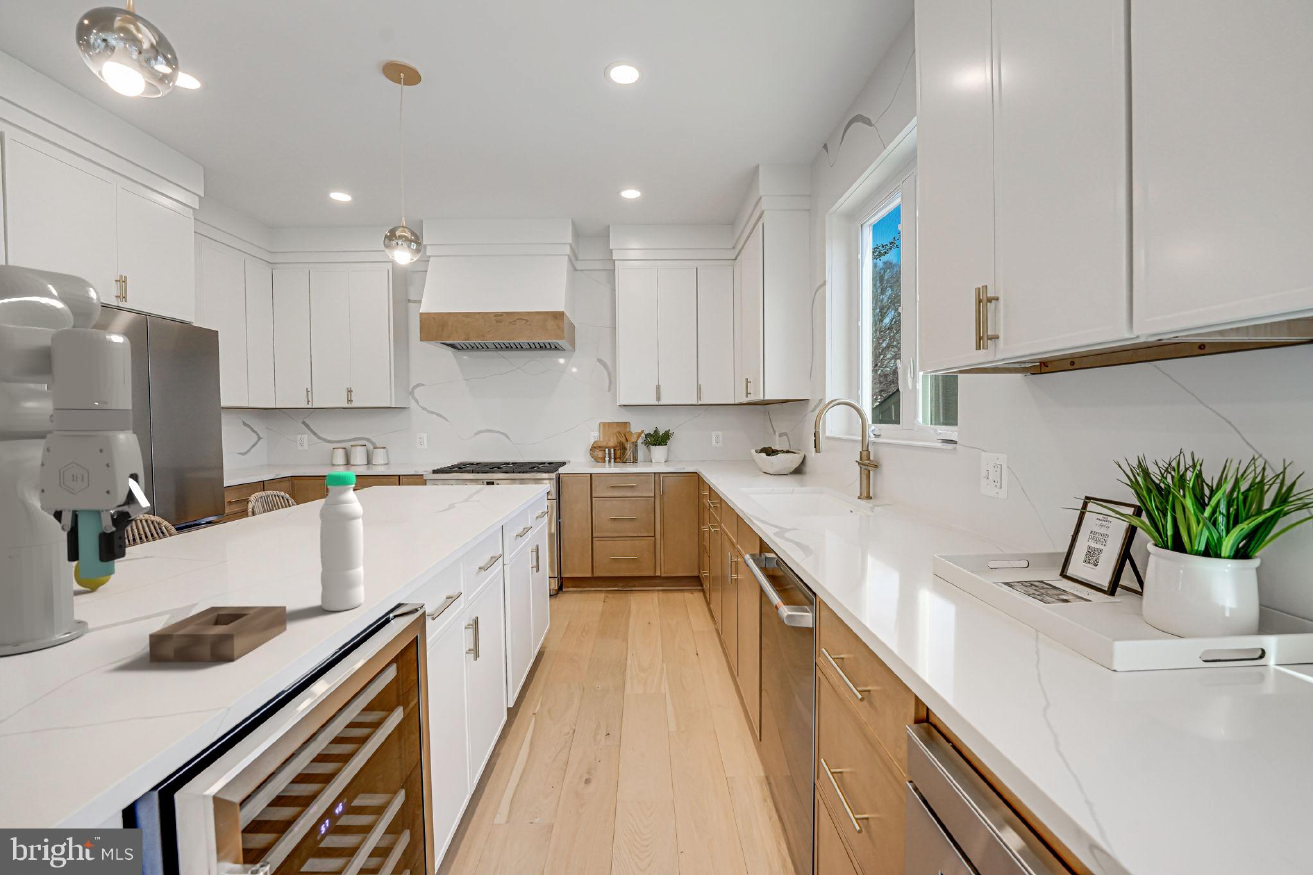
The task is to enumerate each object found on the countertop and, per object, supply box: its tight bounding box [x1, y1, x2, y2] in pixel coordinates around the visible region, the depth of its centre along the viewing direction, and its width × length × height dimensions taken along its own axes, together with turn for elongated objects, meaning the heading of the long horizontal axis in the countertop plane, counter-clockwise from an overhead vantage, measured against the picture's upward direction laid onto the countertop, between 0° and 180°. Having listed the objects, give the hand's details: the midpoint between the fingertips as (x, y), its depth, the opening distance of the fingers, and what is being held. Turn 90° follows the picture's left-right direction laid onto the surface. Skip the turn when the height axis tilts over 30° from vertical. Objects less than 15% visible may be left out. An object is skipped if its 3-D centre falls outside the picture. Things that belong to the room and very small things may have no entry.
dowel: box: [77, 510, 116, 579], centre depth 76 cm, size 3×3×11 cm
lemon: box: [73, 561, 112, 592], centre depth 115 cm, size 6×6×8 cm
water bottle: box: [319, 471, 365, 612], centre depth 106 cm, size 7×7×25 cm
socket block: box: [148, 605, 287, 663], centre depth 88 cm, size 12×12×4 cm
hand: (97, 558), depth 76 cm, fingers closed on dowel, 3 cm apart
